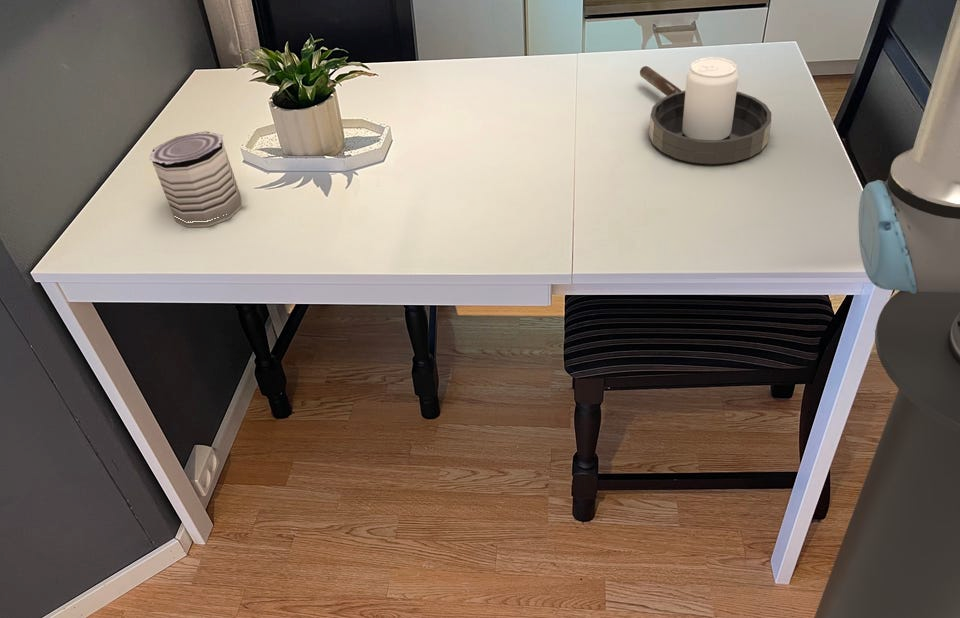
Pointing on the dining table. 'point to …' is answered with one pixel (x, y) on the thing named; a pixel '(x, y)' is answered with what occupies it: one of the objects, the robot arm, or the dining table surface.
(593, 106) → the dining table surface
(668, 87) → the pan handle
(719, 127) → the beverage can
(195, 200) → the can
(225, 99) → the dining table surface
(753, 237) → the dining table surface
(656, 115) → the pan
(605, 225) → the dining table surface
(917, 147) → the robot arm
